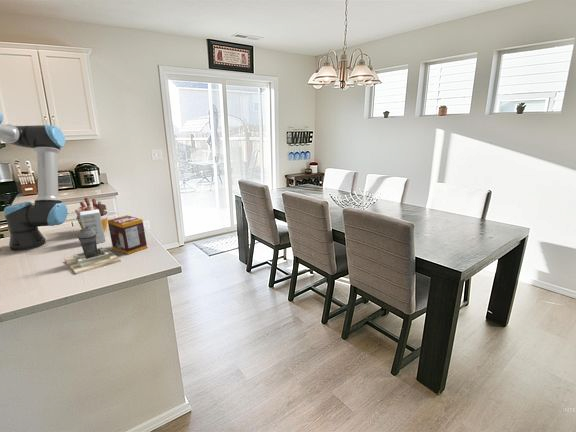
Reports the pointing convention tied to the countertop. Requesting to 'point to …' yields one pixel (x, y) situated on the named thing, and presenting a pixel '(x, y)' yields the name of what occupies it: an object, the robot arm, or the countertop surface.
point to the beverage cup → (88, 241)
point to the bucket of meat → (95, 206)
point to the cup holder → (91, 261)
